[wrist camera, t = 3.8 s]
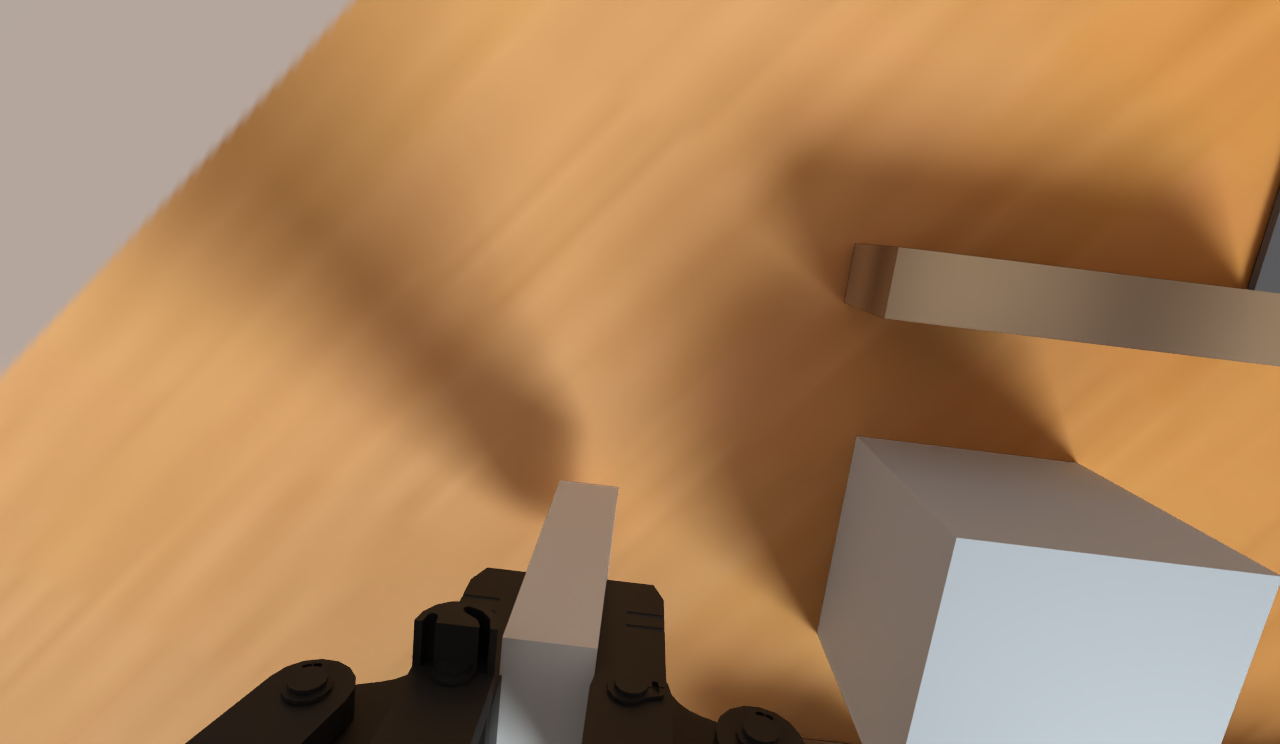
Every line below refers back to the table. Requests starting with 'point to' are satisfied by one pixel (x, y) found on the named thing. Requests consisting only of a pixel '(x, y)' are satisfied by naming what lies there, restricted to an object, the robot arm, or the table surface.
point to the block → (1030, 606)
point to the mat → (1269, 256)
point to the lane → (1065, 305)
